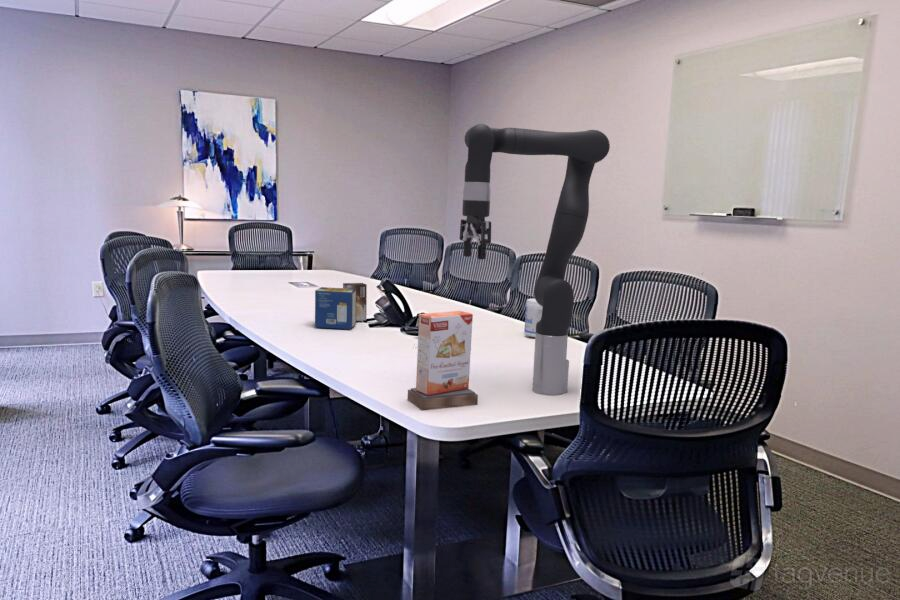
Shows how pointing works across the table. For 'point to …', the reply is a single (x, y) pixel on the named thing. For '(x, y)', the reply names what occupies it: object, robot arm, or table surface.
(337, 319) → the protein box
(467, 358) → the cracker box
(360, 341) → the table surface
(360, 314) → the coffee box
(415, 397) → the podium
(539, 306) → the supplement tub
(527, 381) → the table surface
